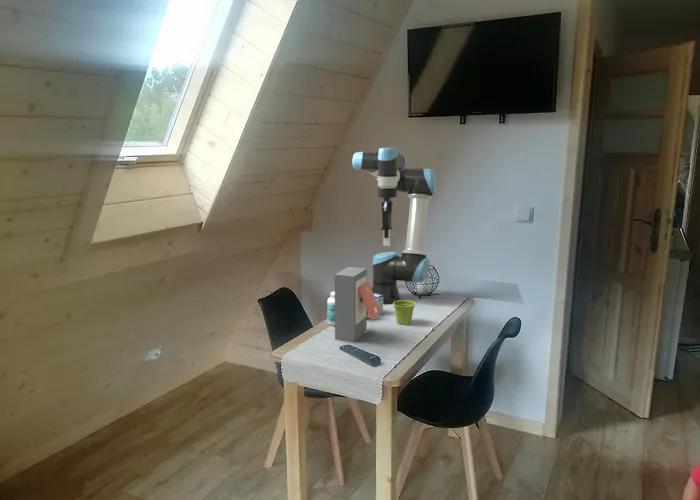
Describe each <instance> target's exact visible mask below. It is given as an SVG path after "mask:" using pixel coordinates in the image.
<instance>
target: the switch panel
mask: <svg viewBox="0 0 700 500" xmlns="http://www.w3.org/2000/svg"><path fill="white" fill-rule="evenodd" d="M367 281H368V269H367V268H366V267H365V268H364V267H354V266H347V267H345V268H344V269H342V270H340V271H338V272H337V273H335V274H334V292H335V326H334V339H335V340H337V341H345V342H352V343H354V342H356V341H357V340H358V339H359V338H360V337H361V336H363V334H364V333H365V332H367V329H368V325H367V323H368V321H367V320H368V317H367V309H366V307H365V304H364V302H363V299H362V297H361V294H360V292H359V289H358V288H360V287H361V286H362V285H364V284H365V283H368V282H367Z"/></svg>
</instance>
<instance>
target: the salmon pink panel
mask: <svg viewBox="0 0 700 500" xmlns="http://www.w3.org/2000/svg"><path fill="white" fill-rule="evenodd" d="M371 288H372V285H371V284H370V282H369V281H368V282H367V283H365V284H364V285H362V286H361V287H360V288H358V289H359V292H360V294H361V297H362V299H363V302H364V304H365V307H366V309H367V312H368V317H369V320H370V321H372V320H374V319H376V318H378V316H380V315H381V314H380V313H381V312H380V309H379V307H378V304H377V301H376V299H375V296H374V294H373V291H372V289H371ZM379 314H380V315H379Z"/></svg>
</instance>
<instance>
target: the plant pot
mask: <svg viewBox="0 0 700 500" xmlns="http://www.w3.org/2000/svg"><path fill="white" fill-rule="evenodd" d="M392 305H393V308H394V312H395V319H396V323H397V324H398V325H402V326H403V325H404V326H407V325H410V324H412V318H413V312H414V308H415V307H416V302H415V301H412V300H407V299H405V300H404V299H400V300H398V301H395V302H393V303H392Z"/></svg>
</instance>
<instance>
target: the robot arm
mask: <svg viewBox="0 0 700 500" xmlns="http://www.w3.org/2000/svg"><path fill="white" fill-rule="evenodd" d="M351 162H352V167H353V169H354V170H356V171H365V172H366V173H369V174H370V175H372V176H373V177H375V178H376V181H377V186H378V188H377V197H378V198H383V199H382V202H381V212H382V215H381V216H382V218H381V219H382V222H381V223H382V228H381V229H380V230H381V231H382V246H384V247H386V246H387V247H390V246H391V230H392V229H393V227H392V212H393V201H392V198H396V197H397V195H398V192H399V193H404V194H405V193H406V194H407V197H408V198H409V199H410V201H409V202H410V203H409V212H408V221H407V231H406V232H407V233H406V240H405V249H403V251H402V252H401V256H399V255H398V252H396V251H385V252H384V251H383V252H380V253H376V254H374V256H373V258H372V285H371V289H372V291H373V293H375V294H380V295H383V305H393V302H395V301H398V300H401V294H400V290H399V287H398V285H397V284H398V283H397V282H399V281H400V282H408V283H409V282H410V283H414V284H415V283H419V284H420V283H423V282H425V280H426V279H427V277H428V274H429V270H430V259H429V258H428V257H427V253H426V252H425V239H426V229H427V220H428V210H429V202H430V200H432V199H433V195H435V194H437V192H438V178H437V175H436V172H435V170H433V169H432V168H424V167H423V168H418V167H417V168H412V167H411V168H409V167H408V168H407V164H408V158H407V156H406V154H405V153H403V152H400V151H398V148H396V147H380V148H379V149H378V151H377V152H376V151H357V152H355V153H354V154H353V156H352V161H351Z"/></svg>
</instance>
